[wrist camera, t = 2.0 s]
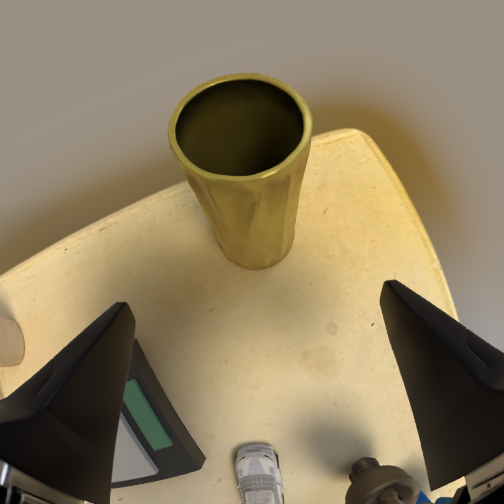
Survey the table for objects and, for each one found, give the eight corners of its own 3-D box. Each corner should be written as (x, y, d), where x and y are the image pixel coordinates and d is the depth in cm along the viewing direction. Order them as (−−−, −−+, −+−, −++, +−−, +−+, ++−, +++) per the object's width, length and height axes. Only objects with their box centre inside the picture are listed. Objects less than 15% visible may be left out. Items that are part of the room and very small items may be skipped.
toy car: (276, 440, 19) (277, 456, 16) (285, 506, 17) (287, 524, 14) (232, 444, 19) (227, 460, 16) (245, 509, 17) (242, 527, 15)
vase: (259, 286, 22) (245, 236, 8) (203, 236, 23) (124, 136, 9) (309, 228, 23) (357, 115, 9) (252, 184, 24) (234, 49, 10)
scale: (206, 458, 19) (198, 474, 16) (98, 482, 18) (84, 494, 15) (136, 338, 22) (119, 340, 19) (43, 385, 21) (24, 389, 18)
